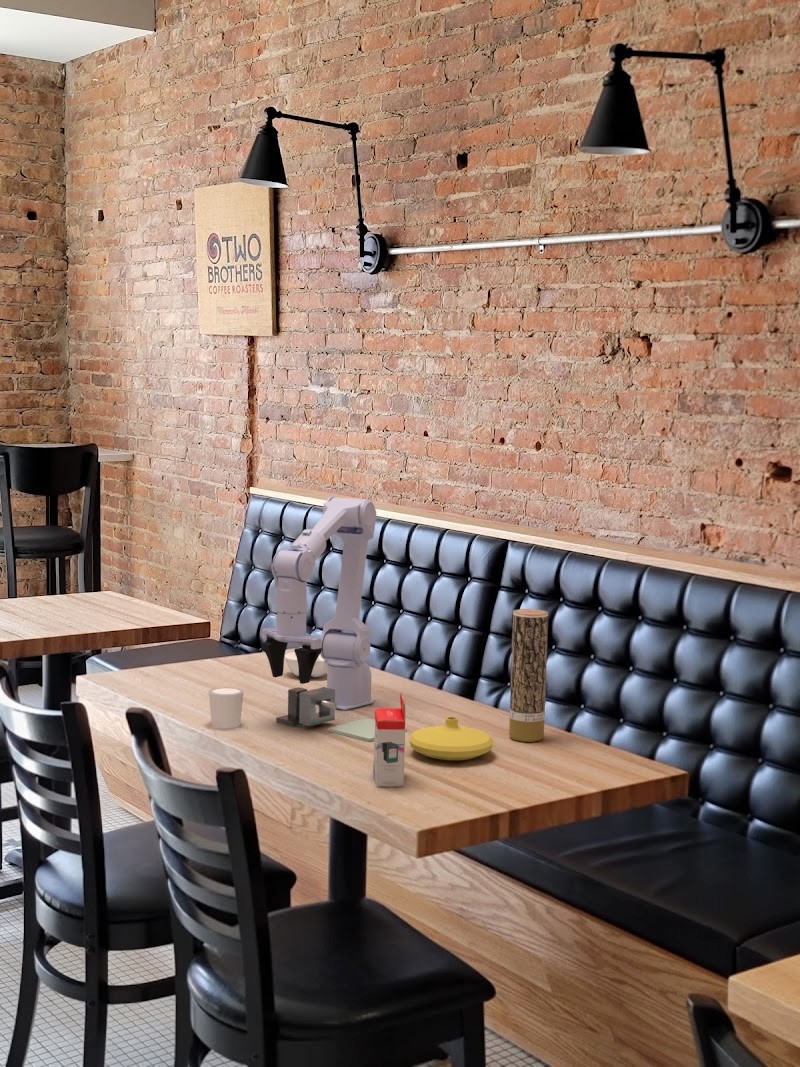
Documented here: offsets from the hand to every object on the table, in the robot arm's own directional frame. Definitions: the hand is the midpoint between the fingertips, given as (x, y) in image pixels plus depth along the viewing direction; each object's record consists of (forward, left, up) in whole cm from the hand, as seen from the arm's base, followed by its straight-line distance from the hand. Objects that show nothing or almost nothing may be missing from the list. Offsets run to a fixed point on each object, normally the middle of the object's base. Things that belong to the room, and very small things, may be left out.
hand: (291, 679), depth 263 cm
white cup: (+7, -11, -10) cm, 17 cm away
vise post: (-5, +1, -10) cm, 11 cm away
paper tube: (-27, +38, -10) cm, 48 cm away
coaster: (-9, +12, -10) cm, 18 cm away
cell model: (-36, -30, -10) cm, 48 cm away
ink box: (+12, +36, -10) cm, 39 cm away
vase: (-8, +34, -10) cm, 36 cm away
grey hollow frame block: (-5, +3, -10) cm, 11 cm away
